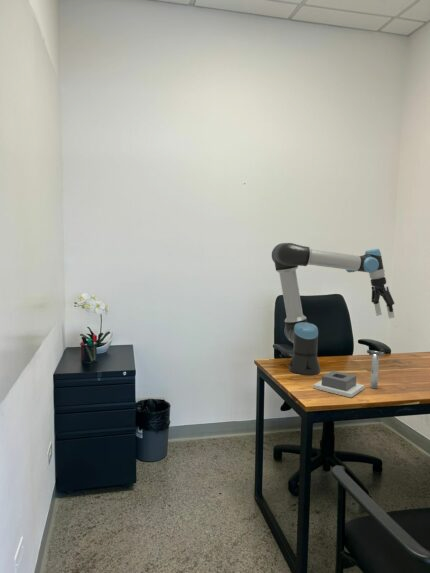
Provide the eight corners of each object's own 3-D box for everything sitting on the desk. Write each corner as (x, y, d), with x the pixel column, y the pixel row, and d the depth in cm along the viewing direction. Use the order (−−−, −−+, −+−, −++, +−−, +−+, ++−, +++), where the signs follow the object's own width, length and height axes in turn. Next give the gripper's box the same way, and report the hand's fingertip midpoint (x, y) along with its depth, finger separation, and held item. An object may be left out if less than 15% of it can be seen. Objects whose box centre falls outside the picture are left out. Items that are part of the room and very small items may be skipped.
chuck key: (363, 386, 179) (365, 350, 178) (366, 384, 182) (368, 348, 180) (381, 390, 174) (383, 353, 173) (383, 388, 177) (385, 351, 175)
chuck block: (313, 388, 176) (313, 375, 175) (327, 380, 187) (328, 368, 187) (351, 397, 165) (351, 384, 164) (364, 388, 176) (365, 376, 176)
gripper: (396, 276, 202) (404, 317, 203) (373, 276, 227) (380, 312, 228) (382, 279, 202) (390, 320, 203) (360, 278, 227) (368, 315, 228)
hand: (385, 316), depth 215 cm, fingers open, 13 cm apart
